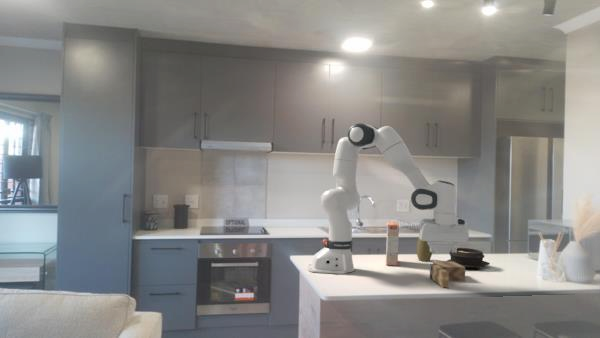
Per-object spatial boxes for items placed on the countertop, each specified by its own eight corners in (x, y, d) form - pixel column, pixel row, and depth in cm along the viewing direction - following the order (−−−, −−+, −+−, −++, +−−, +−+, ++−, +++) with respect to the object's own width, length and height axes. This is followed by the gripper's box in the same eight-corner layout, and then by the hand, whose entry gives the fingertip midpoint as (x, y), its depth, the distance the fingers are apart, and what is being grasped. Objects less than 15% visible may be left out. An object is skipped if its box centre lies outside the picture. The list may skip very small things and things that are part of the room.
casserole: (461, 272, 198) (461, 255, 198) (434, 264, 215) (434, 248, 215) (499, 269, 207) (499, 252, 208) (470, 261, 224) (470, 246, 225)
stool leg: (429, 276, 185) (429, 263, 185) (435, 277, 185) (435, 263, 185) (442, 286, 169) (442, 272, 169) (448, 287, 169) (448, 272, 169)
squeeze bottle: (429, 262, 219) (430, 228, 219) (414, 260, 223) (415, 227, 223) (433, 260, 225) (434, 227, 226) (418, 258, 230) (419, 226, 230)
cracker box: (398, 266, 208) (399, 225, 208) (386, 265, 209) (386, 224, 209) (397, 260, 221) (398, 222, 222) (386, 260, 223) (386, 221, 223)
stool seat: (432, 280, 181) (432, 266, 181) (423, 273, 193) (423, 261, 193) (465, 280, 181) (465, 267, 181) (453, 274, 193) (453, 261, 193)
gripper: (422, 219, 170) (421, 253, 170) (471, 221, 171) (469, 254, 171) (417, 217, 176) (416, 250, 176) (464, 219, 177) (463, 251, 177)
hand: (443, 252), depth 173 cm, fingers open, 8 cm apart
